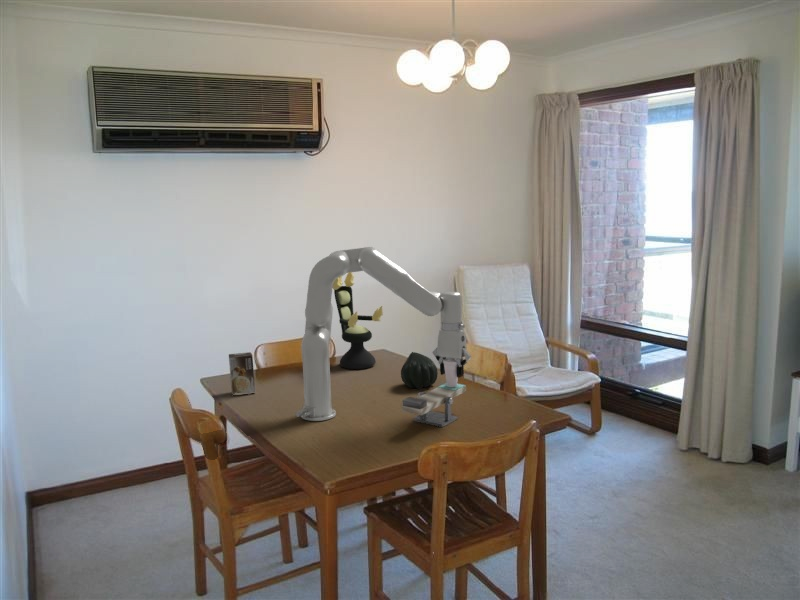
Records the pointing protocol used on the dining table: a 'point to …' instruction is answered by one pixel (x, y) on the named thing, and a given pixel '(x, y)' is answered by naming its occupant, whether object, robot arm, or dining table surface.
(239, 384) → the coffee box
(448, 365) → the smoothie
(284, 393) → the dining table surface
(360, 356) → the toy throne chair
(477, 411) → the dining table surface
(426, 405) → the beam
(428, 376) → the squash
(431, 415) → the pivot stand
